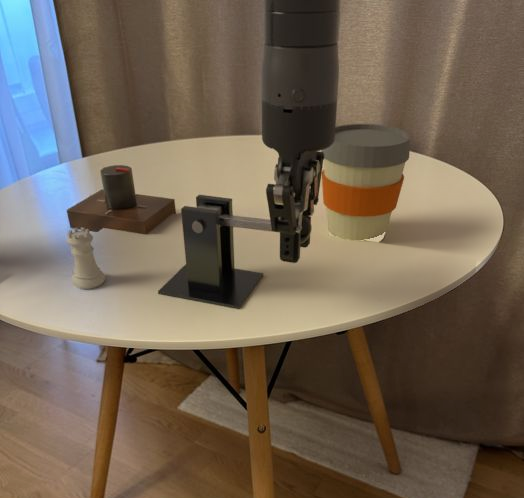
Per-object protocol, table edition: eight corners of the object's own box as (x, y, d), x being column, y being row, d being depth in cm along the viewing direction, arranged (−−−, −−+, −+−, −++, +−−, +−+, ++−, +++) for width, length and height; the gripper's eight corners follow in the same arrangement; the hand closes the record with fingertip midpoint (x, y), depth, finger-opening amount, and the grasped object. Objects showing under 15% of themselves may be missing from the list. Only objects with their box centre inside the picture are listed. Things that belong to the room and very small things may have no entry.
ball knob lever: (314, 238, 64) (315, 209, 62) (306, 251, 62) (306, 221, 60) (204, 225, 69) (202, 197, 66) (192, 236, 66) (189, 207, 64)
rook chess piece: (65, 292, 71) (51, 235, 67) (87, 277, 75) (75, 222, 70) (93, 299, 70) (80, 241, 65) (114, 284, 73) (104, 227, 68)
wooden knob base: (70, 227, 88) (65, 208, 86) (104, 205, 96) (101, 188, 94) (146, 239, 84) (144, 220, 83) (176, 216, 92) (174, 197, 90)
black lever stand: (263, 281, 74) (263, 196, 67) (238, 315, 67) (235, 224, 60) (189, 269, 77) (182, 185, 70) (158, 300, 70) (146, 211, 63)
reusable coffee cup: (409, 228, 87) (425, 130, 79) (377, 258, 79) (391, 152, 70) (338, 212, 93) (346, 119, 84) (301, 238, 85) (306, 138, 76)
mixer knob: (100, 207, 87) (93, 170, 84) (116, 197, 91) (110, 161, 87) (126, 211, 86) (120, 174, 82) (142, 200, 90) (137, 164, 86)
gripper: (285, 80, 61) (283, 226, 71) (237, 107, 50) (243, 275, 60) (352, 83, 59) (340, 233, 69) (317, 113, 48) (309, 286, 58)
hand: (295, 252), depth 64 cm, fingers closed on ball knob lever, 3 cm apart
